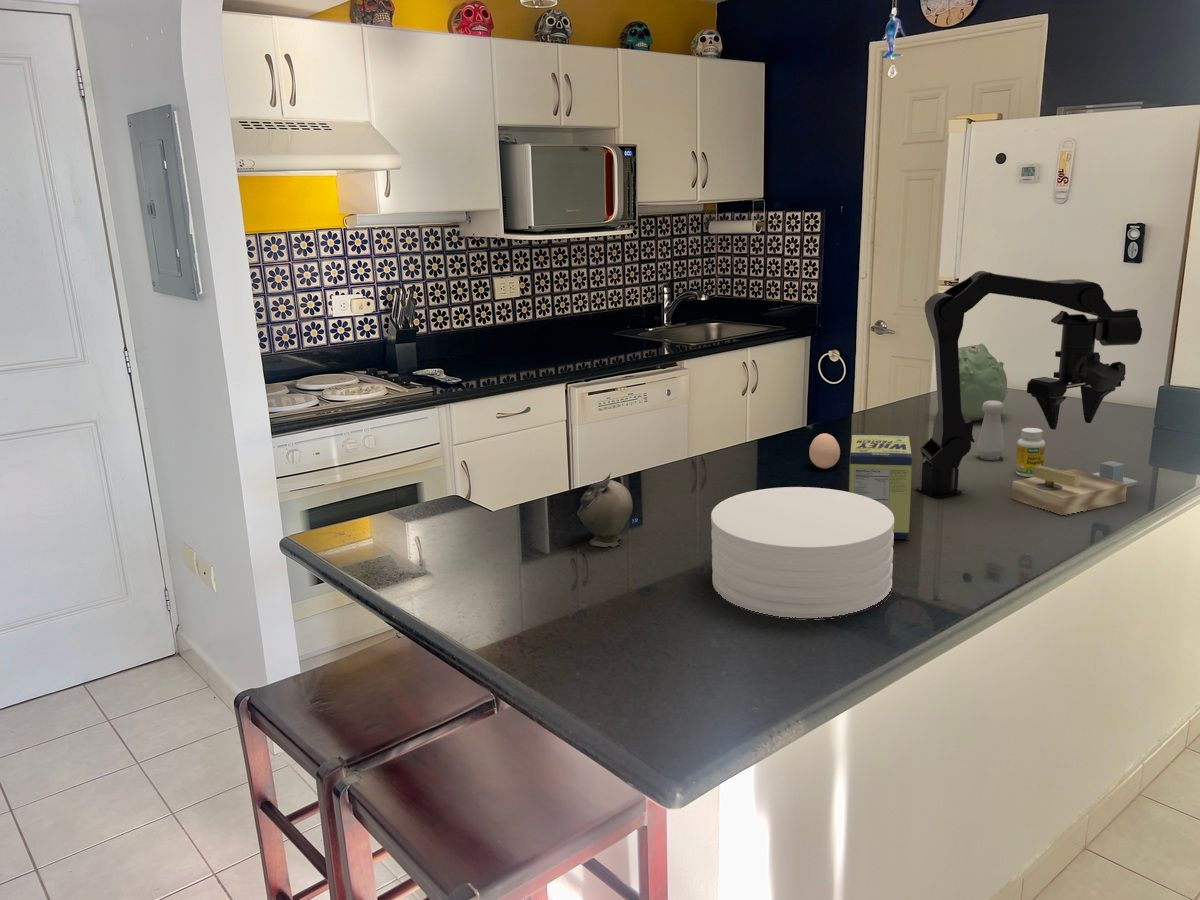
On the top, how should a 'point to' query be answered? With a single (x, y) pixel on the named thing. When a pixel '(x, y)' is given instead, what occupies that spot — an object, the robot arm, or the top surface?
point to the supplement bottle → (1030, 451)
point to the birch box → (1070, 493)
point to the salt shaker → (991, 432)
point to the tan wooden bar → (1056, 476)
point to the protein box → (884, 474)
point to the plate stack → (802, 551)
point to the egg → (824, 451)
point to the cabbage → (979, 380)
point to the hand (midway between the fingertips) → (1070, 425)
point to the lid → (1115, 473)
